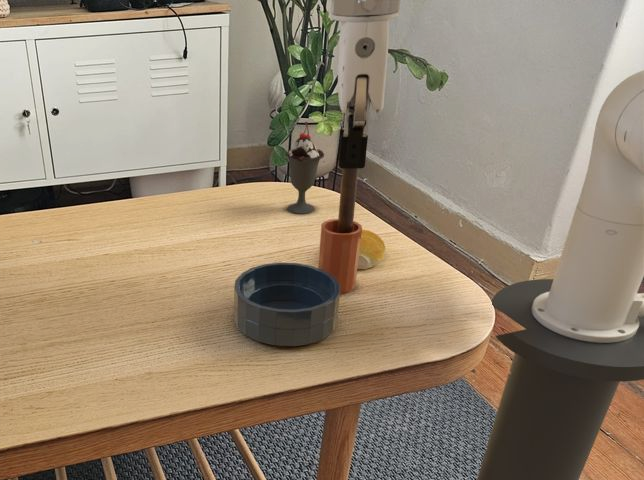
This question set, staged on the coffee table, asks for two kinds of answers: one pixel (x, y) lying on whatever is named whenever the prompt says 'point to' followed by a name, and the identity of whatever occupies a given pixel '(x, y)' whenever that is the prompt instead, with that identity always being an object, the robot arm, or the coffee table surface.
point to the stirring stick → (347, 200)
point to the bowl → (286, 303)
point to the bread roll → (370, 250)
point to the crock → (340, 253)
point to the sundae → (303, 170)
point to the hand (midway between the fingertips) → (350, 163)
